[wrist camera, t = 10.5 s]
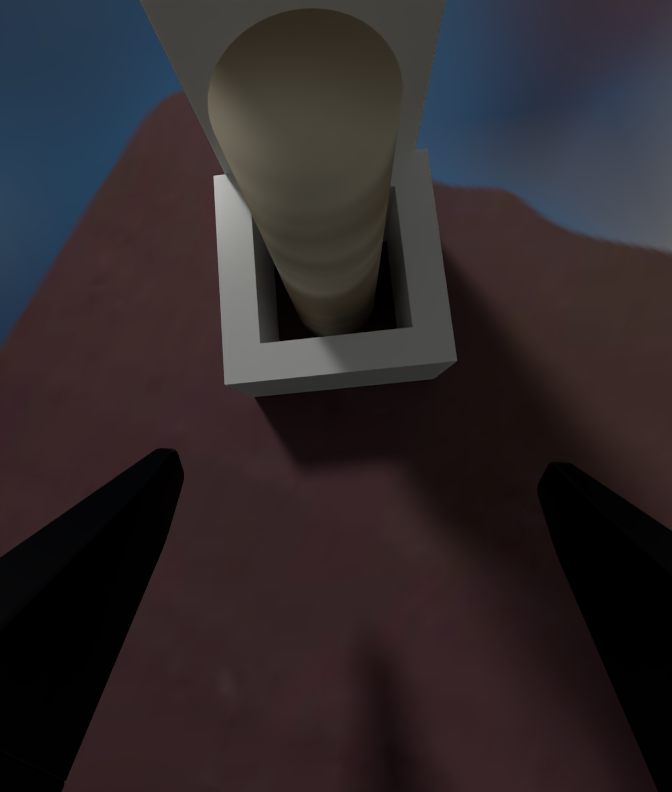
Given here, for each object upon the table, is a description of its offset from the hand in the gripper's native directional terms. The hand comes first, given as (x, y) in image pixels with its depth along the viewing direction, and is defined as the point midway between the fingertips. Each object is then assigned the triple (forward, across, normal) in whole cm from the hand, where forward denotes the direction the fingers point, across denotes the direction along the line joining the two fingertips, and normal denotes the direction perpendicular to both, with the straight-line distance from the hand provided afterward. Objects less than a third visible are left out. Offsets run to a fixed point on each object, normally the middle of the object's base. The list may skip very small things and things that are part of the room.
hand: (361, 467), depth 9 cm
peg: (+12, +1, 0) cm, 12 cm away
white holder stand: (+12, +1, 0) cm, 12 cm away
